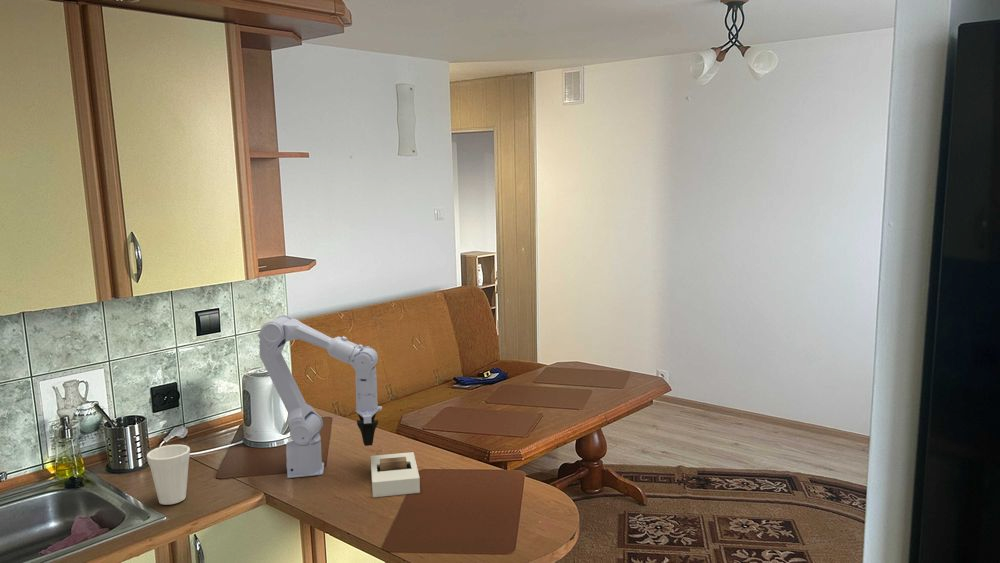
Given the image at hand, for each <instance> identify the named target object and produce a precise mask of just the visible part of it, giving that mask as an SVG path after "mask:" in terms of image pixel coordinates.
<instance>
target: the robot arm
mask: <svg viewBox="0 0 1000 563" xmlns="http://www.w3.org/2000/svg"><path fill="white" fill-rule="evenodd" d="M257 337H258V338H259V358H260V360H261V362H262V364H263V365H264V367H265V370H266V372H267V374H268V376H269V378H270V379H271V382H272V383H273V386H274V388H275V389H276V392H277V394H278V396H279V398H280V400H281V402H282V403H283V406H284V408H285V410H286V412H287V413H288V415H287V425H288V427H289V435H290V438H291V441H287V442H286V448H285V453H286V454H285V456H286V464H285V465H286V466H285V467H286V474H287V475H286V478H287V479H291V478H303V477H304V478H305V477H313V476H322V475H323V474H324V468H325V462H323V460H322V457H323V456H322V442H321V441H322V438H321V435H320V431H321V430H322V428H323V425H324V422H323V418H322V417H321V415H319V414H318V413H317V412H316V411H315V410H314V407H313V406H312V405H310V404H308V403H307V402H306V400H305V398H304V396H303V394H302V392H301V389H300V388H299V386H298V384H297V381H296V380H295V378H294V376H293V373H292V372H291V369H290V368H289V366H288V364H287V362H286V359H285V358H284V355H283V353H282V352H283V350H284V348H285V345H286V344H287V342H292V341H296V340H300V341H304V342H306V343H309V344H311V345H314V346H317V347H319V348H322V349H325V350H326V351H327V354H328V356H330V357H332V358H334V359H336V360H338V361H339V362H340V361H341V362H343V363H346V364H348V365H350V366H352V369H354V371H355V377H354V378H355V406H356V407H355V412H356V414H357V415H358V418H359V419H358V420H356V425H357V427H358V429H359V431H360V433H361V437H362V442H363V446H364V447H367V446H373V443H374V437H375V432H376V428H377V426H378V424H379V419H375V418H376V416H377V413H378V412H379V411H382V410H383V406H382V405H378V379H377V366H376V365H377V363H378V362H379V355H378V352H377V351H376V349H374V348H372V347H371V346H364V345H362V344H361V343H360V344H357V343H355V342H352V341H350V340H348V337H346V336H345V335H343V336H342V337H341V336H336V337H334V338H333V337H331V336H328V335H326V334H325V333H323V332H321V331H319V330H317V329H314V328H313V327H311V326H309V325H307V324H304V323H303V322H302V321H300V320H299V319H297V318H293V317H290V316H288V315H279V316H277V317H276V318H273V319H272V320H269V321H267V322H265V323H264V324H263V325H262V326H261V328H260V331H259V332H258V334H257Z"/></svg>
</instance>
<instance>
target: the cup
mask: <svg viewBox="0 0 1000 563" xmlns="http://www.w3.org/2000/svg"><path fill="white" fill-rule="evenodd" d="M190 454H191V448H190V446H188V445H186V444H168V445H163V446H159V447H156V448H154V449H151V450H149V452H147V454H146V460H147V463H148V465H149V467H150V471H151V475H152V479H153V484H154V488H155V492H156V496H157V499H158V502H159V504H160V505H174V504H178V503H180V502H182V501H184V500H185V499H186V496H187V487H188V473H189V461H190V458H191V455H190Z"/></svg>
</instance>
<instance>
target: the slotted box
mask: <svg viewBox="0 0 1000 563" xmlns="http://www.w3.org/2000/svg"><path fill="white" fill-rule="evenodd" d="M396 457H406V462H407V469H402V470H391V471H381V472H380V459H384V458H396ZM370 473H371V490H372V498H380V497H390V496H398V495H399V496H400V495H410V494H420V493H421V486H420V485H421V483H420V480H421V478H420V474H419V469H418V466H417V462H416V457H415V452H412V451H411V452H410V451H409V452H402V453H401V452H400V453H388V454H379V455H378V454H377V455H370Z"/></svg>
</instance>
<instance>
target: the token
mask: <svg viewBox="0 0 1000 563" xmlns="http://www.w3.org/2000/svg"><path fill="white" fill-rule="evenodd" d="M402 469H408V467H407V462H406V457H396V458H384V459H380V470H379V472H381V471H391V470H402Z"/></svg>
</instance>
